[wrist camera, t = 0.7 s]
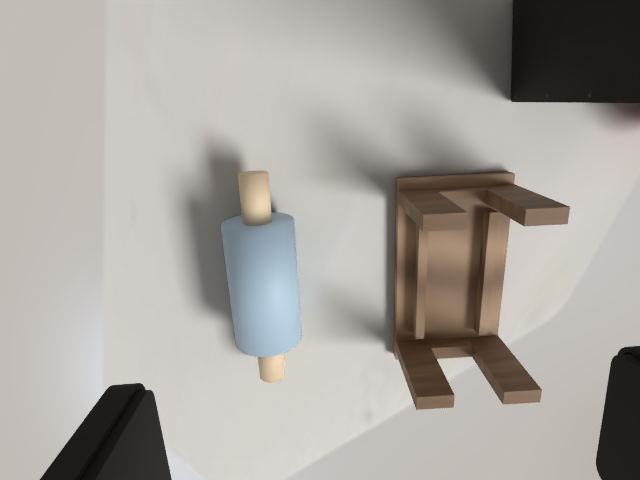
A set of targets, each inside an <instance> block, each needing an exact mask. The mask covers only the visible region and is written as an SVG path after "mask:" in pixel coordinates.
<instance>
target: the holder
mask: <svg viewBox="0 0 640 480" xmlns="http://www.w3.org/2000/svg"><path fill="white" fill-rule="evenodd" d="M514 178H515V174H514V173H511V172H497V173H478V174H459V175H440V176H421V177H401V178H396V226H395V301H394V356H395V359H399V362H400V365H401V368H402V370H403V373H404V376H405V379H406V382H407V384H408V387H409V390H410V393H411V396H412V399H413V401H414V404H415V407H416V409H434V408H450V407H454V393H453V391H452V389H451V387H450V385H449V383H448V381H447V379H446V377H445V375H444V373H443V371H442V369H441V367H440V365H439V363H438V361H437V359H440V358H458V357H473V359H474V360H475V362H476V363H477V365H478V367H479V368H480V370H481V371H482V373H483V374H484V376H485V377H486V379H487V380H488V382H489V384H490V385H491V387H492V388H493V390H494V391H495V393H496V394H497V396H498V397H499V399H500V400H501V402H502V403H503V404H517V403H534V402H540V398H541V392H542V390H541V389H540V387H539V386H538V385H537V383H536V382H535V381H534V380H533V378H532V377H531V376H530V375H529V374H528V372H527V371H526V370H525V369H524V367H523V366H522V365H521V364H520V362H519V361H518V360H517V359H516V357H515V356H514V355H513V354H512V353H511V351H510V350H509V349H508V348H507V346H506V345H505V344H504V343H503V341H502V340H501V339H500V338H499V337H498V327H499V318H500V308H501V299H502V290H503V280H504V271H505V262H506V252H507V243H508V234H509V224H510V218H511V219H513V220H514V221H516V222H518V223H519V224H521V225H523V226H538V225H557V224H568V217H569V211H570V207H569V206H566V205H564V204H561V203H559V202H557V201H554V200H552V199H549V198H547V197H544V196H542V195H539V194H537V193H534V192H532V191H529V190H527V189H524V188H522V187H519V186H517V185H515V184H514Z"/></svg>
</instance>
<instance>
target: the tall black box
mask: <svg viewBox="0 0 640 480" xmlns="http://www.w3.org/2000/svg"><path fill="white" fill-rule="evenodd" d="M511 101H512V102H590V103H603V102H606V103H640V0H513V30H512V80H511Z"/></svg>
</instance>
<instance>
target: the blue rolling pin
mask: <svg viewBox="0 0 640 480" xmlns="http://www.w3.org/2000/svg"><path fill="white" fill-rule="evenodd" d="M237 175H238V184H239V193H240V202H241V211H242V215H239V216H235V217H232V218H229V219H227V220H225V221H223V222H222V223H221V225H220V227H221V234H222V242H223V249H224V257H225V265H226V272H227V280H228V288H229V295H230V303H231V311H232V318H233V326H234V334H235V341H236V346H237V348H238V349H239V350H240V351H241V352H243V353H245V354H247V355H250V356H255V357H258V363H259V372H260V378H261V379H262V380H263V381H265V382H269V383H272V382H277V381H280V380H281V379H283V378H284V376H285V361H284V353H285V352H288V351H290V350H291V349H293V348H294V347H296V346H297V345H298V344H299V342H300V341H301V338H302V329H301V315H300V301H299V286H298V272H297V258H296V243H295V229H294V218H293V217H292V216H290V215H288V214H284V213H277V212H271V202H270V191H269V179H268V172H267V171H247V172H242V173H239V174H237Z"/></svg>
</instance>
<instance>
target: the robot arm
mask: <svg viewBox="0 0 640 480" xmlns="http://www.w3.org/2000/svg"><path fill="white" fill-rule="evenodd" d="M596 466H597V470H598V473H599V475H600V477H601V479H602V480H640V346H634V347H624V348H622V349H621V350H620V351H619V352H618V355H617V356H614V357H613V359H612V362H611V367H610V373H609V380H608V386H607V393H606V399H605V406H604V413H603V419H602V425H601V431H600V438H599V444H598V451H597V458H596ZM40 480H171V475H170V470H169V466H168V460H167V455H166V450H165V445H164V441H163V436H162V431H161V426H160V421H159V416H158V411H157V406H156V402H155V397H154V394H153V392H152V391H151V390H145V387H144V386H143V384H140V383H137V384H123V385H112V386H110V387H109V388H108V389H107V390H106V391H105V392H104V394H103V395H102V396H101V398H100V399H99V401H98V402H97V403H96V405H95V406H94V407H93V409H92V410H91V411H90V413H89V414H88V415H87V417H86V418H85V419H84V421H83V422H82V424H81V425H80V426H79V428H78V429H77V430H76V432H75V433H74V434H73V436H72V437H71V438H70V440H69V441H68V442H67V444H66V445H65V446H64V448H63V449H62V450H61V452H60V453H59V455H58V456H57V457H56V459H55V460H54V461H53V463H52V464H51V465H50V467H49V468H48V469H47V471H46V472H45V473H44V475H43V476H42V478H41V479H40Z"/></svg>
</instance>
